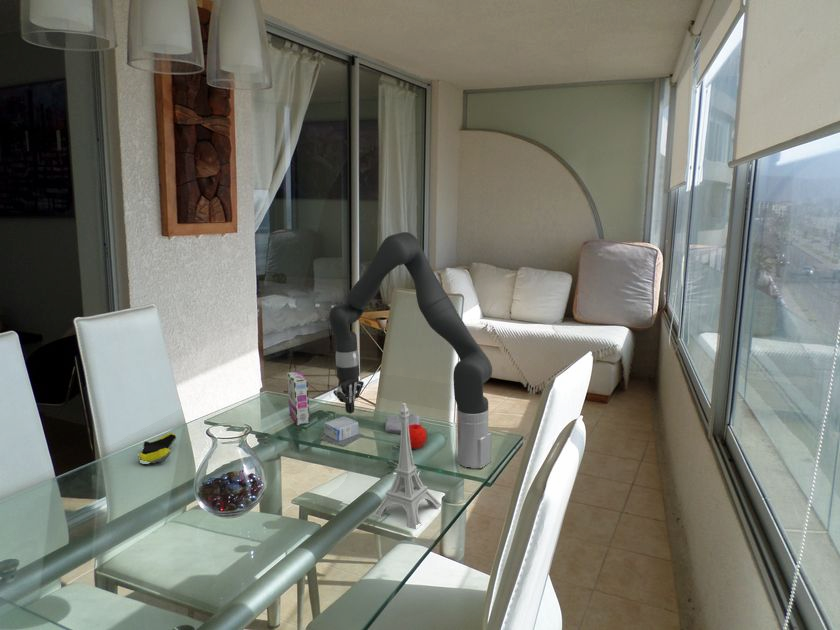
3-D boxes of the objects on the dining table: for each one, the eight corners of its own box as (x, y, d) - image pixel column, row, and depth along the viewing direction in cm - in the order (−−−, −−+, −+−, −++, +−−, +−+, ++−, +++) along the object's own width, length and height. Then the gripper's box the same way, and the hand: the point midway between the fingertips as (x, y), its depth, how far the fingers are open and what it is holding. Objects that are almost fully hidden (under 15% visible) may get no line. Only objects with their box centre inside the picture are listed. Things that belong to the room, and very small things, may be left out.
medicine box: (345, 427, 224) (324, 435, 218) (344, 415, 223) (323, 422, 217) (359, 434, 218) (338, 442, 213) (358, 421, 217) (337, 429, 212)
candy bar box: (311, 423, 229) (307, 379, 225) (296, 426, 227) (293, 381, 223) (302, 412, 239) (299, 370, 235) (289, 415, 237) (285, 372, 233)
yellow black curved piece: (178, 446, 214) (145, 449, 212) (176, 430, 213) (143, 433, 211) (171, 466, 200) (136, 470, 198) (168, 450, 198) (133, 453, 196)
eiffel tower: (372, 516, 169) (367, 408, 162) (399, 493, 180) (396, 391, 173) (416, 530, 163) (412, 417, 155) (442, 505, 174) (440, 399, 167)
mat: (363, 435, 218) (363, 434, 218) (343, 446, 210) (343, 445, 210) (341, 429, 224) (341, 428, 223) (320, 439, 216) (320, 438, 216)
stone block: (419, 439, 218) (421, 422, 227) (418, 428, 216) (420, 411, 225) (384, 441, 219) (387, 423, 228) (383, 429, 217) (385, 412, 226)
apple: (410, 439, 214) (409, 418, 212) (431, 444, 210) (431, 422, 208) (398, 449, 207) (397, 427, 205) (420, 454, 203) (419, 432, 202)
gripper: (342, 370, 207) (345, 421, 211) (369, 359, 217) (371, 408, 222) (325, 366, 211) (328, 416, 215) (352, 356, 222) (354, 404, 226)
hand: (350, 412), depth 218 cm, fingers closed
